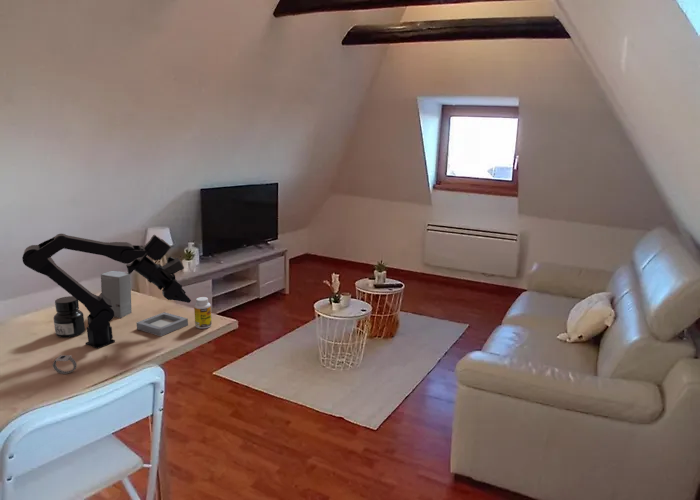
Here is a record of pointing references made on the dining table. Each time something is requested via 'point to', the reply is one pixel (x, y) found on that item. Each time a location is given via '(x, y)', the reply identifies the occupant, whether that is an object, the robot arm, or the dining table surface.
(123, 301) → the skincare box
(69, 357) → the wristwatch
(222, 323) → the dining table surface
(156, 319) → the tray
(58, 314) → the ink bottle
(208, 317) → the supplement bottle
